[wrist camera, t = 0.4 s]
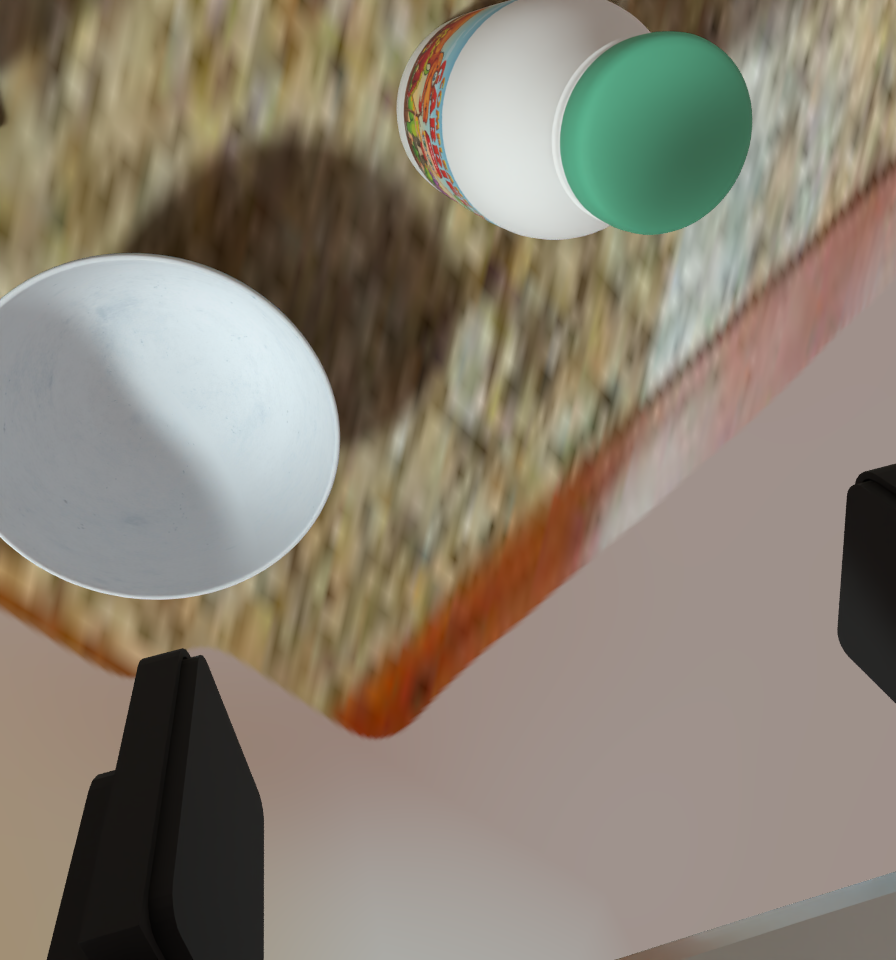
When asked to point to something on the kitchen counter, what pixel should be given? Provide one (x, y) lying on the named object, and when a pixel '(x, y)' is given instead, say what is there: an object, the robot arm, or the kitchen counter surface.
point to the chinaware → (157, 427)
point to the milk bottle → (574, 119)
